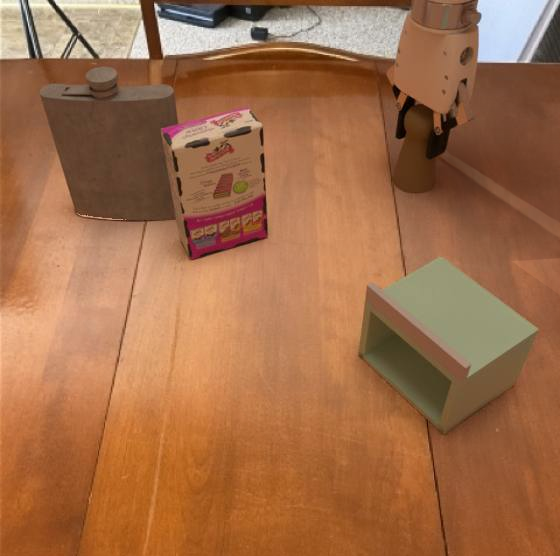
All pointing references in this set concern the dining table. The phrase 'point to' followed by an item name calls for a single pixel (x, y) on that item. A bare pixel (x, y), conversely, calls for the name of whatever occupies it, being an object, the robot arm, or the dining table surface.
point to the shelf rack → (443, 342)
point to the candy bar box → (217, 181)
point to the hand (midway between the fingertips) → (420, 144)
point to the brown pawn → (416, 152)
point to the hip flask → (113, 145)
